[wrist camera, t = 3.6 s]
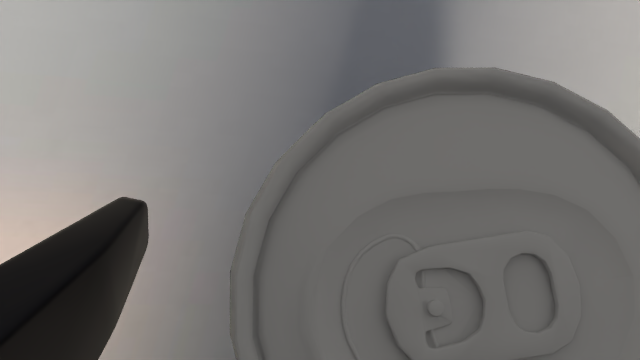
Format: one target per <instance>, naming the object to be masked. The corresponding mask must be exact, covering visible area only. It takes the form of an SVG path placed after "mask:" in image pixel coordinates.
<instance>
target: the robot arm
mask: <svg viewBox="0 0 640 360" xmlns="http://www.w3.org/2000/svg"><path fill="white" fill-rule="evenodd" d="M148 238H149V233H148V207H147V204H146V203H145V202H144V201H142V200H137V199H133V198H128V197H121V198H118V199H116V200H115V201H113V202H111V203H109V204H107V205H106V206H104V207H102V208H100V209H99V210H97V211H95V212H93V213H91V214H90V215H88V216H86V217H84V218H82V219H81V220H79V221H77V222H75V223H74V224H72V225H70V226H68V227H66V228H65V229H63V230H61V231H59V232H58V233H56V234H54V235H52V236H50V237H49V238H47V239H45V240H43V241H42V242H40V243H38V244H36V245H34V246H33V247H31V248H29V249H27V250H25V251H24V252H22V253H20V254H18V255H17V256H15V257H13V258H11V259H9V260H8V261H6V262H4V263H2V264H1V265H0V360H98V359H99V357H100V355H101V353H102V351H103V350H104V348H105V346H106V344H107V342H108V340H109V338H110V336H111V334H112V332H113V330H114V328H115V326H116V324H117V321H118V319H119V317H120V314H121V312H122V309H123V307H124V304H125V302H126V299H127V297H128V294H129V292H130V289H131V287H132V284H133V282H134V279H135V277H136V274H137V271H138V269H139V266H140V264H141V261H142V259H143V256H144V254H145V251H146V248H147V245H148Z"/></svg>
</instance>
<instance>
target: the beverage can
mask: <svg viewBox="0 0 640 360" xmlns="http://www.w3.org/2000/svg"><path fill="white" fill-rule="evenodd" d="M230 336H231V340H232V344H233V347H234V351H235V355H236V359H237V360H640V138H638V137H637V136H636V135H635V134H634V133H633V132H632V131H630V130H629V129H628V128H627V127H626V126H625V125H624V124H623V123H621V122H620V121H619V120H618V119H617V118H616V117H615V116H613V115H612V114H611V113H610V112H609V111H608V110H606V109H604V108H602V107H600V106H598V105H596V104H594V103H592V102H591V101H589V100H587V99H585V98H583V97H581V96H579V95H577V94H575V93H574V92H572V91H570V90H568V89H566V88H564V87H562V86H560V85H558V84H557V83H555V82H552V81H548V80H544V79H539V78H535V77H531V76H527V75H523V74H519V73H515V72H511V71H506V70H502V69H498V68H433V69H429V70H426V71H422V72H418V73H415V74H411V75H407V76H404V77H400V78H396V79H393V80H389V81H385V82H382V83H378V84H376V85H374V86H373V87H371V88H369V89H367V90H366V91H364V92H362V93H360V94H359V95H357V96H355V97H353V98H352V99H350V100H348V101H347V102H345V103H343V104H341V105H340V106H338V107H336V108H334V109H333V110H331V111H329V112H327V113H326V114H325V115H324V116H323V117H322V118H321V119H320V120H319V121H318V122H316V123H315V124H314V125H313V126H312V127H311V128H310V129H309V130H308V131H307V132H306V133H305V134H304V135H303V136H302V137H301V138H300V139H299V140H298V141H297V142H296V143H295V144H294V145H293V146H292V147H291V148H290V149H289V150H288V151H287V152H286V153H285V154H284V155H283V156H282V157H281V158H280V159H279V160H278V161H277V162H276V163H275V164H274V166H273V168H272V170H271V171H270V173H269V175H268V176H267V178H266V180H265V182H264V183H263V185H262V187H261V188H260V190H259V192H258V194H257V195H256V197H255V199H254V200H253V202H252V204H251V206H250V207H249V209H248V211H247V212H246V215H245V219H244V222H243V226H242V230H241V234H240V237H239V241H238V245H237V249H236V252H235V256H234V260H233V263H232V267H231V271H230Z"/></svg>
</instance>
